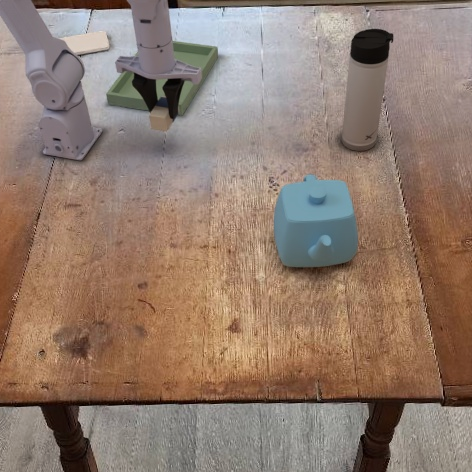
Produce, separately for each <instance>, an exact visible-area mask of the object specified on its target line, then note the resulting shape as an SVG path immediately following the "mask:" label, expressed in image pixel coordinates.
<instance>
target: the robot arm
mask: <svg viewBox="0 0 472 472" xmlns="http://www.w3.org/2000/svg"><path fill="white" fill-rule="evenodd" d="M126 2H127V3H128V4H129V5H130V10H131V18H132V23H133V29H134V35H135V42H136V48H137V52H138V55H139V56H135V55H133V56H123V55H120V56H118V57H117V59H116V60H115V62H114V65H115V69H116V73H118V74H121V73H123V72H124V71H126V72H132V73H134V79H133V80H132V85H133V87H134V88H135V89H136V90H137V91H138V92H139V94H140V95H141V96H142V98H143V100H144V101H145V103H146V105H147V107H148V110H149V111H148V112H149V114H150V113H151V111H152V110H153V108H154V107H155V105H156V103H157V102H158V97H157V91H156V79H168V80H167V81H166V82H165V84H164V85H163V87H162V89H163V91H164V93H165V96H166V99H167V103H168V111H169V116H170V118H171V119H174V118H175V117H176V115H177V113H178V105H179V99H180V94H181V91H182V88H183V85H184V82H185V81H191V82H192V84H195V85H198V84H199V83H200V81H201V79H202V72H201V68H199V67H194V66H191V65H189V64H186V63H184V62H181V61H179V60H177V59H174V50H173V42H172V41H173V34H172V24H171V17H170V8H169V2H168V0H126ZM0 18H1V20H2V21H3V22H4V24H5V26H6V27H7V29H8V30H9V32H10V34H11V35H12V36H13V38H14V40H15V41H16V43H17V44H18V46H19V48H20V49H21V50H22V53H23V54H24V58H25V59H24V60H25V66H24V67H25V68H24V69H25V71H24V72H25V77H26V78H27V80H28V82H29V83H30V85H31V91H32V94H33V97H34V98H35V99H36V101H37V102H38V103H39V104H40V105H42V106H43V112H42V115H41V117H40V118H39V121H38V128H39V132H40V135H41V138H42V141H43V144H44V149H43V150H42V154H43V155H46V156H47V155H48V156H53V157H59V158H64V159H70V160H76V161H82V160H83V159H84V158H85V157H86V155H87V154H88V152H89V151H90V150H91V148H92V147H93V146H94V144H95V143H96V142H97V140H98V138H99V137H100V136H101V134H102V133H103V131H104V130H103V128H102V127H96V126H93V124H92V121H91V116H90V112H89V108H88V104H87V100H86V96H85V91H84V88H83V84H82V80H83V78H84V77H85V74H86V73H85V72H86V68H85V64H84V62H83V60H82V59H81V57H80V56H79V55H76V54H75V53H74V52H73V51H72V50H71V49H70V48H69V47H68V46H67V44H66V42H65V41H64V40H61V39H58V38H59V37H54V36H53V34H52V33H51V31H50V29H49V27H48V26H47V24H46V23H45V22H44V19H43V17H42V16H41V15H40V13H39V11H38V10H37V8H36V6H35V5H34V3H33V1H32V0H0ZM176 118H177V117H176Z"/></svg>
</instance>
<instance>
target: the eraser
mask: <svg viewBox="0 0 472 472" xmlns="http://www.w3.org/2000/svg"><path fill="white" fill-rule="evenodd" d="M178 114H179V105H178V113H177V115H176V117H175V118H174V119H171V118H170V116H169V111H168V103H167V99H166V96H161V97H160V99H159V100H158V102H157V103H156V105H155V107H154V108H153V110H152V111H151V113H150V112H149V114H148V119H149V126H150V130H154V131H159V132H166V133H167V132H168V131H169V129H170V128H171V126H172V124H173V123H174V122H175V120H176V119H177V117H178V116H179V115H178Z"/></svg>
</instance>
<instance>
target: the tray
mask: <svg viewBox="0 0 472 472" xmlns="http://www.w3.org/2000/svg"><path fill="white" fill-rule="evenodd" d="M172 42H173V50H174V59H177V60H179V61H181V62H184V63H186V64H189V65H191V66H194V67H199V68H201V72H202V79H201V81H200V83H199V84H198V85H195V84H192V82H191V81H185V82H184V85H183V88H182V91H181V94H180V99H179V114H178V116H180V117H183V115H184V114H185V112H186V111H187V109H188V107H189V106H190V104H191V103H192V101H193V100H194V98H195V96H196V95H197V93H198V91H199V89H200V88H201V86H202V84H203V83H204V81H205V80H206V78H207V77H208V75H209V73H210V71H211V70H212V68H213V67H214V65H215V63H216V62H217V60H218V58H219V52H218V51H219V50H218V46H216V45H208V44H200V43H193V42H184V41H177V40H172ZM134 56H139V55H138V51H136V53H135V54H134ZM133 79H134V73H132V72H126V71H124V72H123V73H119V76H118V77H117V78H116V80H115V81H114V82H113V84H112V85H111V86H110V88H109V89H108V90H107V92H106V94H105V95H106V100H107V104H108V106H116V107H123V108H129V109H134V110H135V109H136V110H142V111H148V112H149V110H148V107H147V105H146V103H145V101H144V100H143V98H142V96H141V95H140V94H139V92H138V91H137V90H136V89H135V88H134V87H133V85H132V80H133ZM167 80H168V79H156V91H157V97H158V100H159V99H160V97H161V96H165V93H164V91H163V89H162V87H163V85H164V84H165V82H166V81H167Z"/></svg>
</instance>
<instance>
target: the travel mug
mask: <svg viewBox="0 0 472 472" xmlns="http://www.w3.org/2000/svg"><path fill="white" fill-rule="evenodd" d="M390 43H391V44H393V43H394V33H393V32H389V31H387V30H385V29H382V28H368V29H363V30H361V31H358V32H357V33H355V34H354V35H353V37H352V38H351V42H350V51H349V57H348V58H349V60H348V70H347V79H346V89H345V99H344V110H343V120H342V129H341V130H342V131H341V143H342V145H343V146H344V147H345V148H347V149H349V150H352V151H357V152H362V151H363V152H364V151H368V150H370V149H372V148H374V146H376V143H377V139H378V132H379V126H380V119H381V111H382V104H383V98H384V92H385V86H386V84H385V83H386V77H387V71H388V65H389V58H390V46H391V45H390Z"/></svg>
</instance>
